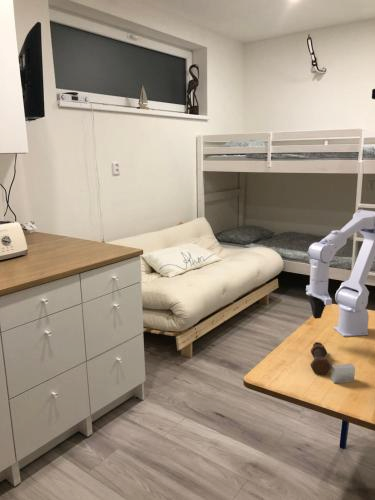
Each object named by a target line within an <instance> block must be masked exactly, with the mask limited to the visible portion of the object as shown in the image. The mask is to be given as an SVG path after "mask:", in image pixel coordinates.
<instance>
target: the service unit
mask: <svg viewBox="0 0 375 500" xmlns="http://www.w3.org/2000/svg"><path fill="white" fill-rule="evenodd" d="M355 372H356V366H355V365H354V364H353V363H342V364H332V365H331V369H330V381H331V382H332V383H333V384H341V383H342V384H344V383H352V382H353V383H354V382H355V375H356V373H355Z"/></svg>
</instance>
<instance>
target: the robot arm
mask: <svg viewBox="0 0 375 500" xmlns="http://www.w3.org/2000/svg"><path fill="white" fill-rule="evenodd" d="M356 233H360V234H361V235H362V236H363V241H362V245H361V247H360V249H359V252H358V255H357V258H356V260H355V263H354V266H353V268H352V271H351V274H350V276H349V279H347V280H345V281H342V282H341V284H340V286H339V288H338V289H337V290H336V293H335V295H334V297H335V298H334V299H335V302H336V304H337V307H339V312H338V323H337V324H338V325H334V326H332V327H333V329H334V330H335V331H337V332H338V333H339V334H340V335H341V336H343V337H353V336H355V337H357V336H366V335H367V336H368V335H369V332H368V331H369V330H368V329H369V318H370V317H369V312H368V310H367V309H366V308H367V306H368V303H369V295H370V291H369V290H368V288H367V286H366V285H365V284H366V282H367V280H368V279H367V278H368V276H369V274H370V270H371V267H372V265H373V263H374V260H375V211H373V210H364V209H363V208H361V209H359V210H357V211H356V212H355V213H353V215H352V219H351V220H349V222H347V223H346V224H345V225H344V226H343V227H342V228H341V229H340V230H338V229H337V230H332V231H331V232H330V233H329V234H328V235H326V236H325V237H324V238H322V239H321V240H320V241H317V242H313V243H311V244H310V245H309V248H308V251H306V254H307V257H308V259H309V265H310V272H309V273H310V275H309V284H307V285H306V286H305V287H306V288H305V291H306V292H305V294H306V295H307V300H308V301H309V304H310V308H311V313H312V317H313V318H314V319H321V318H322V315H323V312H324V310H325V308H326V307H327V306H331V305H332V304H333V303H332V302H333V299H332V298H331V296H330V294H329V291H328V290H329V278H330V277H329V275H330V272H329V271H330V262H331V261H332V260H333V259H334V257H335V255H336V253H337V251H339V250H340V249H342V248H343V246H345V245H346V244H347V242H348V241H347V240H348V238H350V237H352V236H353V235H354V234H356Z"/></svg>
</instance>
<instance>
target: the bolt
mask: <svg viewBox="0 0 375 500" xmlns="http://www.w3.org/2000/svg"><path fill="white" fill-rule="evenodd" d="M310 354H311V355H312V357H313V360H312V361H311V363H310V367H311V369H312V372H313V373H314V375H319V376H326V375H328V373H330V372H331V367H332V365H331V363H330V361H329V360H328V358H327V357H326V356H327V354H328V351H327V349H326V347H325V345H324V344H323V343H321V342H317V341H316V342H314V343H313V344H312V347H311V349H310Z"/></svg>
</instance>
